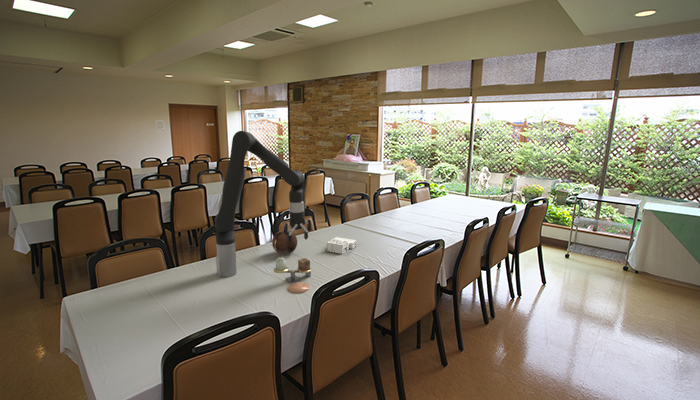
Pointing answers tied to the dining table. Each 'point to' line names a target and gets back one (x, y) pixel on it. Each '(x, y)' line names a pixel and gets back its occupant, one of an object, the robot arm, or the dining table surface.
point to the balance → (293, 274)
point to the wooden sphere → (284, 243)
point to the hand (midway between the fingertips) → (298, 240)
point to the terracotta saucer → (298, 287)
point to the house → (340, 245)
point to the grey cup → (280, 264)
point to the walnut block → (304, 264)
